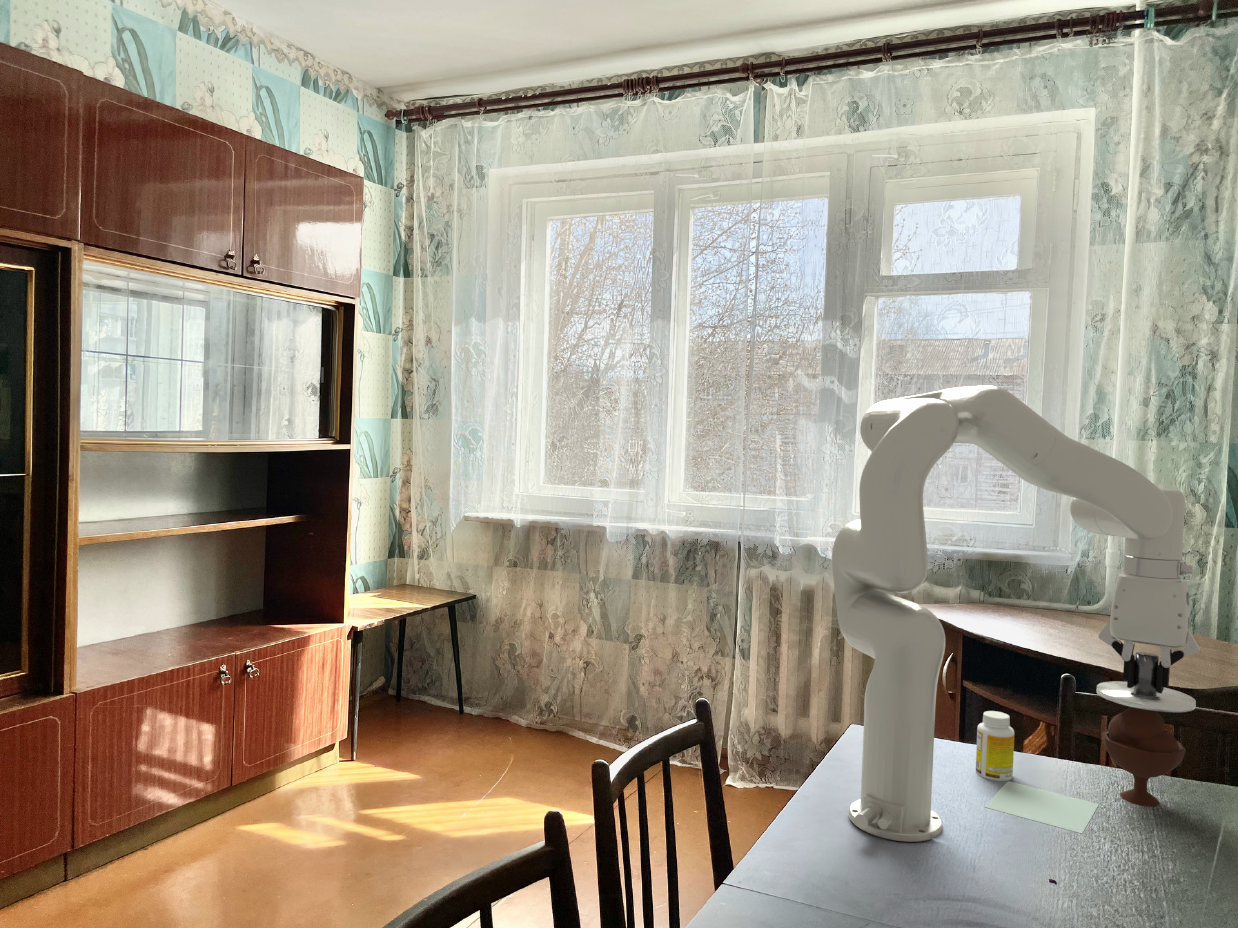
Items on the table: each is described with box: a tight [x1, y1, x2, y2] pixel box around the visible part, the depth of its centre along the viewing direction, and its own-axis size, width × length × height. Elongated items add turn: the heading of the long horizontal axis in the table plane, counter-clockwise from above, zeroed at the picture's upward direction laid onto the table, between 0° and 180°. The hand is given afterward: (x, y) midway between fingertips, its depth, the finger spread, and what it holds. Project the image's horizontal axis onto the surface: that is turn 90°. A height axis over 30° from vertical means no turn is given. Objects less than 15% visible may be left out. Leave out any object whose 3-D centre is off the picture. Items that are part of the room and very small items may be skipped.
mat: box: [984, 780, 1100, 835], centre depth 132 cm, size 13×13×1 cm
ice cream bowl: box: [1101, 706, 1187, 808], centre depth 135 cm, size 11×11×15 cm
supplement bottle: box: [975, 710, 1015, 782], centre depth 143 cm, size 6×6×10 cm
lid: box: [1096, 651, 1197, 713], centre depth 135 cm, size 13×13×7 cm
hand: (1145, 687), depth 135 cm, fingers open, 3 cm apart
